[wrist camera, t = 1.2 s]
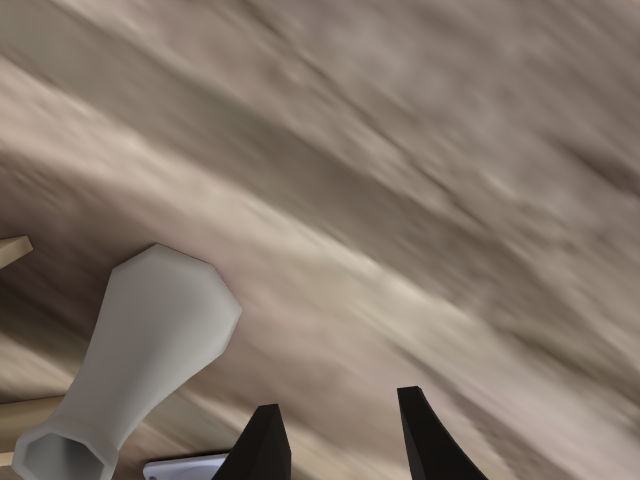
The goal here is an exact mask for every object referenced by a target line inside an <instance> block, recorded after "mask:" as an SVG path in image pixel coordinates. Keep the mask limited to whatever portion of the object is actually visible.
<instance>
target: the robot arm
mask: <svg viewBox="0 0 640 480" xmlns="http://www.w3.org/2000/svg"><path fill="white" fill-rule="evenodd" d="M397 392H398V399H399V406H400V412H401V419H402V426H403V432H404V439H405V444H406V450H407V455H408V461H409V466H410V472H411V476H412V480H488V479H487V478H486V477H485V475H484V474H483V473H482V472H481V471H480V470H479V469H478V468H477V467H476V466H475V464H474V463H473V462H472V461H471V460H470V459H469V458H468V456H467V455H466V454H465V453H464V452H463V450H462V449H461V448H460V447H459V446H458V444H457V443H456V442H455V441H454V439H453V438H452V437H451V435H450V434H449V432H448V431H447V430H446V428H445V427H444V426H443V424H442V423H441V422H440V420H439V419H438V417H437V416H436V414H435V413H434V411H433V410H432V408H431V406H430V405H429V403H428V401H427V400H426V398H425V396H424V394H423V392H422V389H421V388H419V387H418V386H412V387H404V388H397ZM143 474H144V477H145V479H146V480H290V479H291V450H290V446H289V442H288V439H287V435H286V432H285V428H284V424H283V421H282V417H281V413H280V410H279V406H278V404H270V405H263V406H259V407H258V408H257V409H256V411H255V412H254V414H253V416H252V417H251V419H250V421H249V422H248V424H247V426H246V427H245V429H244V431H243V432H242V434H241V436H240V437H239V439H238V440H237V442H236V444H235V445H234V447H233V448H232V450H231V451H230V453H227V454H219V455H210V456H202V457H193V458H185V459H176V460H168V461H159V462H151V463H147V464H146V465H145V467H144V469H143Z"/></svg>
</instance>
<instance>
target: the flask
mask: <svg viewBox="0 0 640 480" xmlns="http://www.w3.org/2000/svg"><path fill="white" fill-rule="evenodd" d="M242 310H243V309H242V307H241V306H240V304H239V303H238V302H237V300H236V299H235V297H234V296H233V294H232V293H231V292H230V290H229V289H228V287H227V286H226V285H225V283H224V282H223V280H222V279H221V277H220V276H219V275H218V273H217V272H216V270H215V269H214V267H213V266H212V265H210V264H207V263H205V262H202V261H200V260H197V259H195V258H192V257H190V256H187V255H185V254H182V253H180V252H178V251H175V250H173V249H170V248H168V247H165V246H163V245H160V244H158V243H157V244H156V245H154V246H152V247H150V248H149V249H147V250H145V251H143V252H141V253H140V254H138V255H136V256H134V257H133V258H131V259H129V260H127V261H125V262H124V263H122V264H120V265H118V266H117V267H115V268H113V269H112V273H111V276H110V279H109V282H108V285H107V289H106V292H105V296H104V299H103V303H102V306H101V309H100V313H99V316H98V320H97V323H96V327H95V330H94V333H93V336H92V339H91V342H90V345H89V348H88V351H87V354H86V357H85V360H84V363H83V364H82V366H81V368H80V370H79V372H78V374H77V375H76V377H75V379H74V381H73V383H72V384H71V386H70V388H69V390H68V392H67V394H66V395H65V397H64V399H63V400H62V401H61V403H60V404H59V405H58V406H57V408H56V409H55V410H54V411H53V412H52V414H51V415H50V416H49V417H48V419H47V420H46V421H44V422H42V423H40V424H38V425H36V426H34V427H32V428H30V429H28V430H27V431H25V432H24V433H23V434H21V436H20V437H19V438H18V440H17V442H16V447H15V451H14V455H13V459H12V464H11V469H12V470H14V471H15V472H16V473H17V474H18V475H19V476H20V477H21V478H22V479H23V480H111V479H112V476H113V473H114V470H115V467H116V465H117V462H118V459H119V455H120V454H119V450H120V448H121V447H122V445H123V443H124V442H125V440H126V439H127V437H128V436H129V435H130V434H131V433H132V432H133V430H134V429H135V428H136V427H137V426H138V425H139V423H140V422H141V421H142V420H143V419H144V418H145V416H146V415H147V414H148V413H149V412H150V411H151V410H152V408H154V407H155V406H156V405H157V404H158V403H160V402H161V401H162V400H163V399H165V398H166V397H167V396H168V395H169V394H171V393H172V392H173V391H174V390H176V389H177V388H178V387H179V386H180V385H182V384H183V383H184V382H185V381H186V380H188V379H189V378H190V377H192V376H193V375H194V374H196V373H197V372H198V371H200V370H201V369H202V368H204V367H205V366H206V365H208V364H209V363H211V362H212V361H213V360H215V359H216V358H217V357H218V356H220V355H221V354H222V353H223V352H225V350H226V348H227V345H228V343H229V341H230V338H231V336H232V334H233V331H234V329H235V327H236V324H237V322H238V320H239V317H240V315H241V313H242Z"/></svg>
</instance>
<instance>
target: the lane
mask: <svg viewBox="0 0 640 480" xmlns="http://www.w3.org/2000/svg"><path fill="white" fill-rule="evenodd" d="M32 250H33V248H32V245H31V243H30V241H29V239H28V236H27V235H26V236H20V237H14V238H8V239H3V240H0V269H1V268H3V267H4V266H6V265H8V264H10V263H11V262H13V261H15V260H17V259H18V258H20V257H22V256H24V255H25V254H27V253H29V252H31V251H32ZM64 397H65V396H59V397H52V398H45V399H37V400H30V401H22V402H15V403H8V404H0V466H7V465H11V464H12V459H13V455H14V451H15V447H16V442H17V440H18V438H19V437H20V436H21V434H23V433H24V432H25V431H27V430H28V429H30V428H32V427H34V426H36V425H38V424H40V423H42V422H44V421H46V420H47V419H48V417H49V416H50V415H51V414H52V412H53V411H54V410H55V409H56V408H57V406H58V405H59V404H60V403H61V401H62V400H63V399H64Z"/></svg>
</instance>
